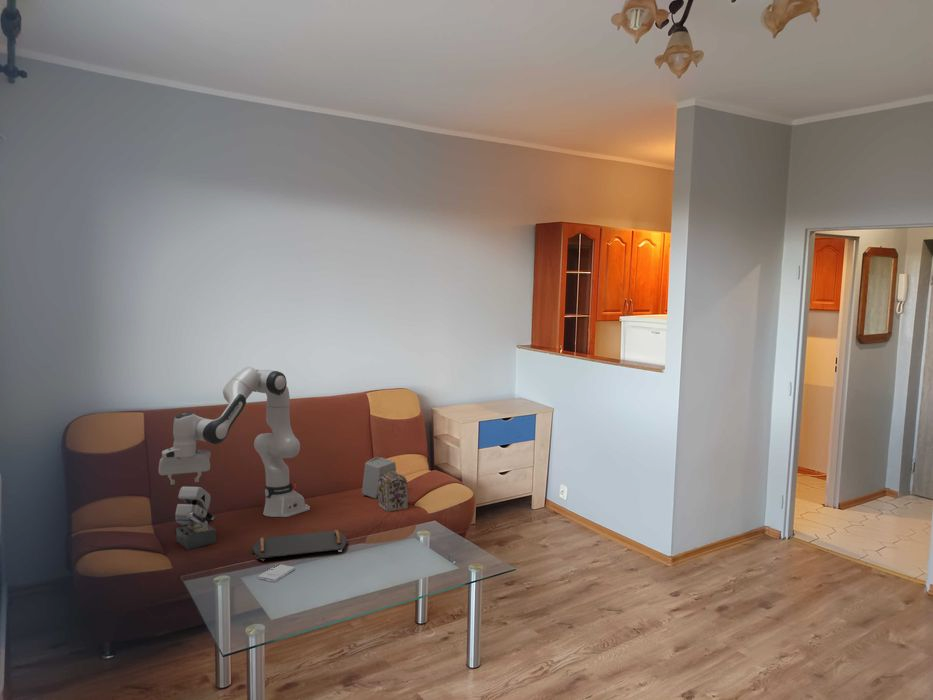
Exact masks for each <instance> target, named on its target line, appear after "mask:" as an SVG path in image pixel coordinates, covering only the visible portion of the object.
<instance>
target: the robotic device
mask: <svg viewBox="0 0 933 700" xmlns="http://www.w3.org/2000/svg"><path fill="white" fill-rule="evenodd" d="M177 498H178V499H179V500H183V501H184V502H185V503H177V505H176V509H175V516H174V517H175V519H174V521H175V522H176V523H177V524H180V526H181V527H183V526H188V525H189V519H187V513H188V512H191V511H195V512H196V515H198V516H199V517H201V518H202V519H204V520H211V521H215V518H216V516H214V515H212V514H211V513H210V512H208V511H209V508H210V504H211V500H212V499H211V495H210V493H209V492H208V491H206V489H204V488H202V486H201V487H200V486H186V485H185V486H182V487H180V488H179V493H178V496H177ZM195 524H197V523H196V522H195Z"/></svg>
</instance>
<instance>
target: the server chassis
mask: <svg viewBox="0 0 933 700" xmlns="http://www.w3.org/2000/svg"><path fill="white" fill-rule="evenodd" d="M216 530H217V529H216V528H214V526H211V525H209V524H208V529H205V530H202V526H201V525H200V524H198V523H197V524H195V521H193V520H192V519H191V520H189V525H188V526H178V527H176V528H175V531H176V532H175V533H176V534H175V535H176V542H177V544H179V545H181V546H182V547H183V546H184V547H183V548H185V549H186V550H187V551H189V550H193V549H197V548H201V547H205V546H204V545H206V546H210V545H213V543H214V544H216V543H217V533H216V532H217V531H216ZM209 544H210V545H209ZM200 546H201V547H200Z"/></svg>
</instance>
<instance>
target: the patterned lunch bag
mask: <svg viewBox="0 0 933 700" xmlns="http://www.w3.org/2000/svg"><path fill="white" fill-rule="evenodd" d="M408 486H409V485H408V480H407V478H406V476H405V475H403V474H399V473H398V472H397V471H396V472H389V473H388V474H387V475H384V476H382V477H381V478H380V479H379V480H378V498H377V499H378V502H377V503H378V506H379V507H380V508H381V509H383V510H384V511H385V512H387V513H388V512H395V511H401V510H402V511H403V510H407V509H408V508H409V507H408V506H409V505H408V503H409V495H408V494H409V487H408Z"/></svg>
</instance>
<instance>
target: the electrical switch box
mask: <svg viewBox="0 0 933 700" xmlns="http://www.w3.org/2000/svg"><path fill="white" fill-rule="evenodd" d="M389 472H397V467H396V462H395V461H394V460H390V459H387V458H385V457H383V456H382V457H381V456H380V457H373V458H371V459H369V460H368V461H366V462H365V464H364V472H363V478H362V479H363V481H362V486H361V487H362V489H361V494H362V495H364V496H367V497H370V498H372V499H375V500H376V499H378V480H379V479H380V478H381V477H382V476H384V475H387V474H388V473H389Z"/></svg>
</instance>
